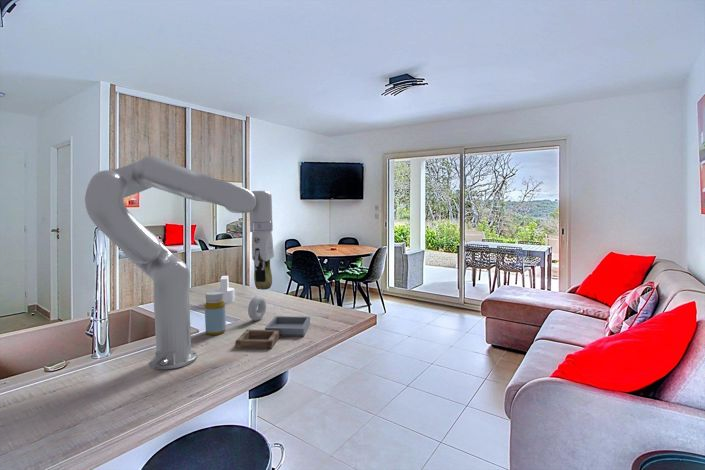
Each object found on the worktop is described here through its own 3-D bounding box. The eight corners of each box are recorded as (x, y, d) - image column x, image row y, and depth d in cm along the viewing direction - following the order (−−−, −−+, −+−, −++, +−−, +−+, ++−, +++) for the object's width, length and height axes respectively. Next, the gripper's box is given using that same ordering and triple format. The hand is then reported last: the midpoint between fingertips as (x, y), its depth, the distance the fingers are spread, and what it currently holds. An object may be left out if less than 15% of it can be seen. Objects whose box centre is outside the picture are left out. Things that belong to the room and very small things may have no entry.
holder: (271, 348, 120) (271, 341, 120) (235, 348, 120) (235, 340, 120) (279, 336, 131) (279, 330, 131) (247, 336, 131) (246, 329, 131)
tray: (303, 336, 131) (303, 328, 131) (265, 336, 132) (265, 328, 131) (310, 324, 145) (310, 316, 145) (275, 323, 146) (275, 316, 145)
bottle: (229, 332, 136) (228, 292, 135) (211, 337, 131) (209, 296, 129) (220, 327, 141) (219, 289, 139) (202, 332, 135) (201, 292, 134)
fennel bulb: (254, 291, 124) (252, 256, 122) (255, 287, 128) (254, 254, 127) (271, 290, 124) (270, 255, 123) (272, 287, 129) (271, 253, 128)
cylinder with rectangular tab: (216, 299, 182) (215, 276, 181) (235, 298, 185) (234, 275, 184) (214, 304, 174) (213, 279, 173) (234, 303, 176) (233, 278, 175)
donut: (253, 324, 145) (253, 299, 144) (246, 323, 146) (245, 298, 145) (268, 317, 154) (267, 293, 153) (261, 316, 155) (260, 293, 154)
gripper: (264, 229, 116) (266, 285, 117) (278, 225, 132) (280, 275, 134) (241, 229, 116) (243, 285, 118) (258, 225, 133) (260, 275, 135)
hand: (263, 279), depth 126 cm, fingers closed on fennel bulb, 4 cm apart
